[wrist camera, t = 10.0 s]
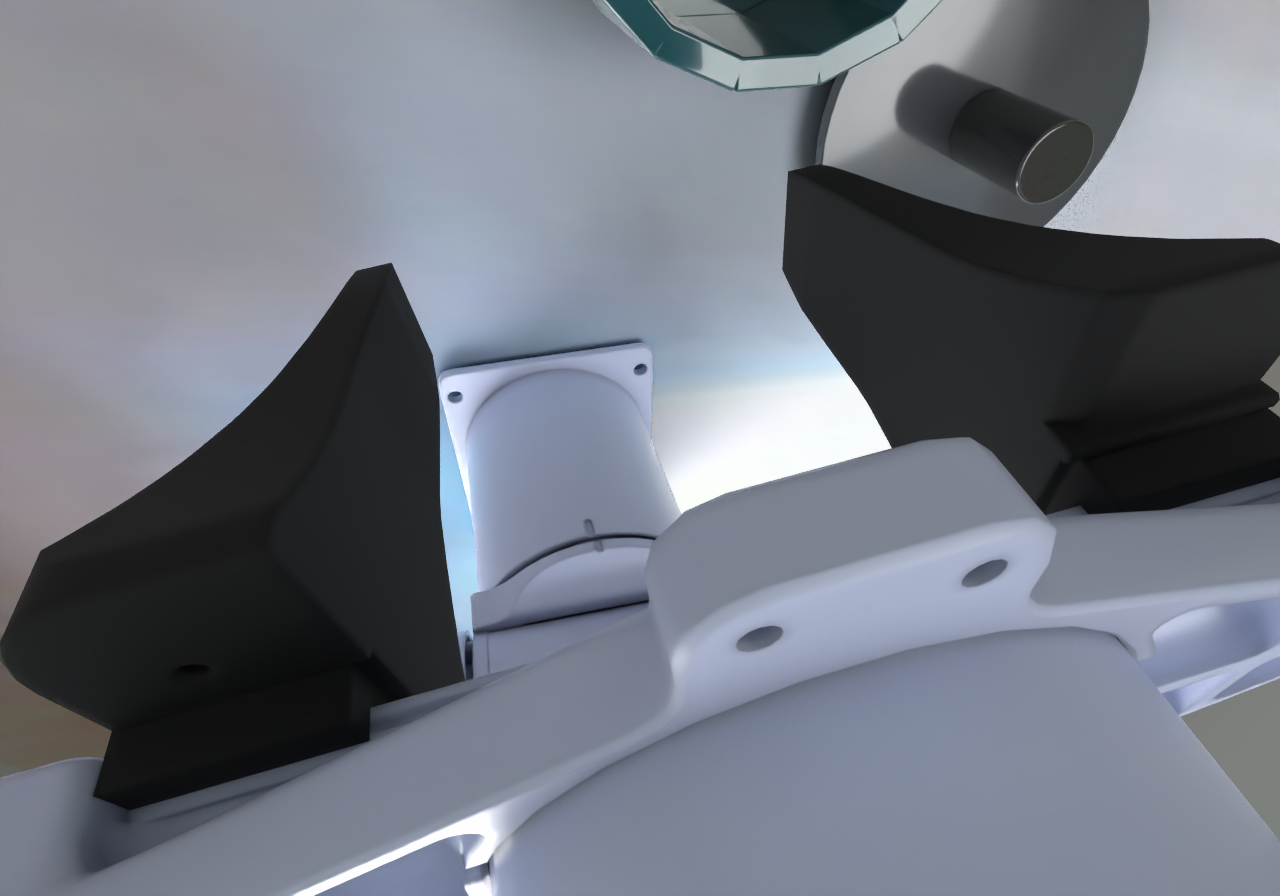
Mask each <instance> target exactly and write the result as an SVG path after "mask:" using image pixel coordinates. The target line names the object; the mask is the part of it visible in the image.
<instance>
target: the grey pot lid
mask: <svg viewBox="0 0 1280 896" xmlns="http://www.w3.org/2000/svg"><path fill="white" fill-rule="evenodd" d="M1148 30H1149V0H942V1H941V2H940V3H939V4H938V5H937V6H936V7H935V9H934V10H933V11H932V12H931V13H930V14H929V15H928V16H927V17H926V18H925V19H924V20H923V21H922V22H921V23H920V24H919V25H918V26H917V27H916V28H915V29H914V30H913V31H912V32H911V33H910V34H909V36H908V37H907V38H906V39H905V40H904V41H902V42H901V41H900V43H899V44H897V45H895V46H893V47H892V48H890V49H888V50H886V51H884V52H882V53H880V54H878V55H876V56H875V57H873V58H871V59H869V60H867V61H865V62H863V63H861V64H859V65H857V66H856V67H854V68H852V69H850V70H848V71H846V72H844V73H842V74H840V75H839V76H837V77H836V79H835V81H834V83H833V86H832V88H831V91H830V94H829V97H828V100H827V103H826V106H825V109H824V112H823V116H822V121H821V125H820V130H819V134H818V140H817V149H816V157H815V165H819V164H822V165H827V166H831V167H835V168H839V169H842V170H845V171H848V172H851V173H854V174H857V175H860V176H863V177H866V178H868V179H871V180H874V181H877V182H879V183H882V184H885V185H888V186H891V187H893V188H896V189H899V190H902V191H905V192H908V193H911V194H913V195H916V196H919V197H922V198H925V199H929V200H932V201H935V202H938V203H941V204H945V205H948V206H952V207H955V208H958V209H962V210H965V211H969V212H972V213H976V214H980V215H985V216H989V217H993V218H998V219H1003V220H1008V221H1012V222H1017V223H1022V224H1027V225H1033V226H1039V227H1044V226H1045V225H1046V224H1047V223H1048V222H1049V221H1050V220H1051V219H1052V218H1054V217H1055V216H1056V215H1057V213H1058V212H1059V211H1060V210H1061V209H1062V208H1063V207H1064V206H1065V205H1066V204H1067V203H1068V202H1069V201H1070V200H1071V199H1072V197H1073V196H1074V195H1075V194H1076V193H1077V191H1078V190H1079V189H1080V188H1081V186H1082V185H1083V184H1084V183H1085V182H1086V180H1087V179H1088V178H1089V176H1090V175H1091V173H1092V172H1093V170H1094V169H1095V168H1096V166H1097V165H1098V163H1099V162H1100V161H1101V159H1102V157H1103V156H1104V154H1105V152H1106V151H1107V149H1108V147H1109V146H1110V144H1111V142H1112V141H1113V139H1114V137H1115V135H1116V133H1117V131H1118V129H1119V127H1120V125H1121V123H1122V121H1123V119H1124V117H1125V115H1126V113H1127V111H1128V108H1129V106H1130V103H1131V101H1132V98H1133V96H1134V93H1135V90H1136V87H1137V84H1138V81H1139V77H1140V74H1141V71H1142V67H1143V62H1144V58H1145V53H1146V48H1147V41H1148Z"/></svg>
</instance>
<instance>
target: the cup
mask: <svg viewBox="0 0 1280 896" xmlns="http://www.w3.org/2000/svg"><path fill="white" fill-rule="evenodd" d="M591 1H592V2H593V3H594V4H595V5H596V6H597V7H598V9H599V10H600V11H601V12H602V13H603V14H604V15H605V16H606V17H607V18H609V19H610V20H611V21H612V22H613V23H614V24H615V25H617V26H618V27H619V28H620V29H621V30H622V31H624V32H625V33H626V34H627V35H628V36H629V37H630V38H632V39H633V40H634V41H635V42H636V43H637V44H639V45H640V46H641V47H642V48H643V49H644V50H646V51H647V52H648V53H649V54H650V55H652V56H653V57H655V58H656V59H658V60H660V61H662V62H665V63H667V64H669V65H672V66H674V67H676V68H679V69H681V70H683V71H686V72H688V73H690V74H693V75H695V76H697V77H699V78H702V79H704V80H706V81H709V82H711V83H713V84H716V85H718V86H720V87H723V88H725V89H727V90H730V91H736V92H745V91H759V90H773V89H787V88H801V87H815V86H817V85H821V84H823V83H825V82H827V81H829V80H831V79H833V78H835V77H837V76H839V75H840V74H842V73H844V72H846V71H848V70H850V69H852V68H854V67H856V66H857V65H859V64H861V63H863V62H865V61H867V60H869V59H871V58H873V57H875V56H876V55H878V54H880V53H882V52H884V51H886V50H888V49H890V48H892V47H893V46H895V45H897V44H899V43H900V41H901V42H902V41H904V40H905V39H906V38H907V37H908V36H909V34H910V33H911V32H912V31H913V30H914V29H915V28H916V27H917V26H918V25H919V24H920V23H921V22H922V21H923V20H924V19H925V18H926V17H927V16H928V15H929V14H930V13H931V12H932V11H933V10H934V9H935V7H936V6H937V5H938V4H939V3H940V2H941V1H942V0H591Z"/></svg>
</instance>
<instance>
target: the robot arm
mask: <svg viewBox="0 0 1280 896" xmlns="http://www.w3.org/2000/svg"><path fill="white" fill-rule="evenodd" d="M782 270H783V272H784V274H785V276H786V278H787V280H788V283H789V285H790V287H791V289H792V291H793V293H794V295H795V297H796V299H797V301H798V303H799V305H800V307H801V309H802V310H803V312H804V313H805V315H806V316H807V318H808V319H809V321H810V322H811V323H812V325H813V326H814V328H815V329H816V331H817V332H818V333H819V335H820V336H821V338H822V339H823V340H824V342H825V343H826V345H827V346H828V347H829V349H830V350H831V352H832V353H833V354H834V356H835V357H836V358H837V360H838V361H839V363H840V364H841V365H842V367H843V368H844V370H845V371H846V372H847V374H848V375H849V377H850V378H851V379H852V381H853V382H854V383H855V385H856V386H857V388H858V389H859V391H860V392H861V394H862V395H863V397H864V398H865V400H866V402H867V403H868V405H869V406H870V408H871V410H872V412H873V414H874V416H875V417H876V419H877V421H878V423H879V425H880V427H881V429H882V430H883V432H884V434H885V436H886V438H887V440H888V441H889V443H890V445H891V447H892V449H888V450H884V451H881V452H877V453H873V454H870V455H866V456H862V457H858V458H855V459H851V460H847V461H844V462H840V463H836V464H833V465H829V466H825V467H821V468H818V469H814V470H810V471H807V472H803V473H799V474H796V475H792V476H788V477H785V478H781V479H777V480H773V481H770V482H766V483H762V484H759V485H755V486H751V487H748V488H744V489H740V490H736V491H733V492H729V493H725V494H723V495H721V496H719V497H716V498H714V499H712V500H710V501H707V502H705V503H703V504H701V505H698V506H696V507H694V508H692V509H689V510H687V511H685V512H684V513H683V514H682V515H681V513H680V511H679V508H678V506H677V503H676V501H675V498H674V496H673V493H672V491H671V488H670V486H669V483H668V481H667V478H666V476H665V473H664V471H663V468H662V466H661V463H660V461H659V458H658V456H657V453H656V451H655V448H654V446H653V443H652V374H653V355H652V351H651V349H650V348H649V346H648V345H647V344H644V343H633V344H626V345H619V346H612V347H605V348H597V349H590V350H583V351H576V352H569V353H562V354H555V355H548V356H540V357H533V358H526V359H519V360H512V361H505V362H498V363H491V364H483V365H476V366H469V367H462V368H455V369H449V370H446V371H444V372H442V373H441V374H440V376H439V378H438V386H439V391H440V395H441V399H442V403H443V407H444V411H445V415H446V418H447V422H448V426H449V430H450V434H451V438H452V442H453V446H454V450H455V454H456V458H457V462H458V466H459V470H460V473H461V477H462V481H463V485H464V489H465V493H466V497H467V501H468V505H469V509H470V513H471V517H472V524H473V535H474V547H475V558H476V570H477V581H478V592H477V593H474V594H472V595H471V611H472V624H473V633H474V637H473V640H472V637H471V635H470V634H469V632H468V630H467V631H461V632H457V629H456V623H455V617H454V610H453V604H452V597H451V590H450V583H449V576H448V569H447V562H446V554H445V546H444V538H443V530H442V522H441V509H440V405H439V393H438V386H437V379H436V373H435V367H434V361H433V355H432V352H431V350H430V348H429V346H428V343H427V341H426V339H425V337H424V334H423V332H422V330H421V328H420V325H419V323H418V321H417V319H416V317H415V314H414V312H413V310H412V308H411V305H410V303H409V301H408V299H407V296H406V294H405V292H404V290H403V287H402V285H401V283H400V281H399V278H398V276H397V274H396V272H395V269H394V267H393V265H392V263H388V264H384V265H380V266H375V267H371V268H367V269H362V270H358V271H356V272H355V273H354V274H353V275H352V277H351V278H350V279H349V281H348V282H347V283H346V285H345V286H344V288H343V289H342V291H341V292H340V293H339V295H338V296H337V298H336V299H335V301H334V302H333V304H332V305H331V307H330V308H329V309H328V311H327V312H326V314H325V315H324V316H323V318H322V319H321V321H320V322H319V323H318V325H317V326H316V328H315V329H314V331H313V332H312V333H311V335H310V336H309V337H308V339H307V340H306V341H305V342H304V344H303V345H302V346H301V347H300V349H299V350H298V351H297V352H296V354H295V355H294V356H293V357H292V358H291V360H290V361H289V362H288V363H287V365H286V366H285V367H284V368H283V370H282V371H281V372H280V373H279V374H278V376H277V377H276V378H275V379H274V380H273V381H272V382H271V383H270V384H269V386H268V387H267V388H266V389H265V390H264V391H263V392H262V393H261V394H260V395H259V396H258V397H257V398H256V399H255V400H254V401H253V402H252V403H251V404H250V405H249V406H248V407H247V408H246V409H245V410H244V411H243V412H242V413H241V414H240V415H238V416H237V417H236V418H235V419H234V420H233V421H232V422H231V423H229V424H228V425H227V426H226V427H225V428H223V429H222V430H221V431H220V432H219V433H217V434H216V435H215V436H214V437H213V438H211V439H210V440H209V441H208V442H207V443H205V444H204V445H203V446H202V447H201V448H199V449H198V450H197V451H196V452H195V453H193V454H192V455H191V456H190V457H188V458H187V459H186V460H184V461H183V462H182V463H180V464H179V465H178V466H176V467H175V468H173V469H172V470H171V471H169V472H168V473H166V474H165V475H164V476H162V477H161V478H160V479H158V480H157V481H155V482H154V483H152V484H151V485H149V486H148V487H146V488H145V489H143V490H142V491H140V492H139V493H137V494H136V495H134V496H133V497H131V498H130V499H128V500H127V501H125V502H123V503H122V504H120V505H119V506H117V507H116V508H114V509H112V510H111V511H109V512H107V513H105V514H104V515H102V516H100V517H99V518H97V519H95V520H93V521H92V522H90V523H88V524H87V525H85V526H83V527H82V528H80V529H78V530H76V531H75V532H73V533H71V534H70V535H68V536H66V537H64V538H63V539H61V540H59V541H58V542H56V543H54V544H52V545H50V546H48V547H47V548H45V549H43V550H41V551H40V553H39V556H38V558H37V560H36V563H35V565H34V567H33V569H32V572H31V574H30V576H29V578H28V581H27V583H26V585H25V587H24V590H23V592H22V594H21V596H20V599H19V601H18V603H17V605H16V608H15V610H14V612H13V614H12V617H11V619H10V621H9V623H8V626H7V628H6V630H5V632H4V635H3V637H2V639H1V642H0V658H1V661H2V663H3V664H4V666H5V667H6V668H7V670H8V671H9V672H10V674H11V675H12V676H13V677H14V678H15V679H16V680H17V681H18V682H20V683H21V684H23V685H24V686H26V687H27V688H29V689H30V690H32V691H33V692H35V693H37V694H38V695H40V696H42V697H44V698H46V699H48V700H51V701H53V702H55V703H57V704H59V705H61V706H63V707H65V708H67V709H69V710H71V711H73V712H75V713H77V714H79V715H81V716H83V717H85V718H87V719H89V720H91V721H93V722H95V723H97V724H99V725H101V726H103V727H105V728H107V729H109V730H111V731H112V733H111V736H110V740H109V743H108V747H107V750H106V753H105V757H104V759H102V758H98V757H79V758H73V759H67V760H62V761H58V762H55V763H51V764H48V765H44V766H40V767H37V768H33V769H30V770H26V771H23V772H19V773H16V774H12V775H8V776H5V777H2V778H0V896H1280V841H1279V840H1278V839H1277V837H1276V836H1275V835H1274V834H1273V833H1272V831H1271V830H1270V829H1269V827H1268V826H1267V825H1266V824H1265V822H1264V821H1263V820H1262V819H1261V817H1260V816H1259V815H1258V814H1257V812H1256V811H1255V810H1254V809H1253V807H1252V806H1251V805H1250V804H1249V802H1248V801H1247V800H1246V799H1245V797H1244V796H1243V795H1242V794H1241V792H1240V791H1239V790H1238V789H1237V788H1236V786H1235V785H1234V784H1233V783H1232V781H1231V780H1230V779H1229V777H1228V776H1227V775H1226V774H1225V773H1224V771H1223V770H1222V769H1221V767H1219V765H1218V764H1217V762H1216V761H1215V760H1214V759H1213V757H1212V756H1211V755H1210V754H1209V753H1208V751H1207V750H1206V749H1205V747H1204V746H1203V745H1202V744H1201V743H1200V741H1199V740H1198V739H1197V737H1196V736H1195V735H1194V734H1193V732H1192V731H1191V730H1190V729H1189V727H1188V726H1187V725H1186V724H1185V723H1184V721H1183V720H1182V719H1181V716H1183V715H1186V714H1188V713H1191V712H1193V711H1196V710H1199V709H1201V708H1204V707H1206V706H1209V705H1212V704H1214V703H1217V702H1219V701H1222V700H1224V699H1227V698H1229V697H1232V696H1234V695H1237V694H1240V693H1242V692H1245V691H1247V690H1250V689H1253V688H1255V687H1258V686H1260V685H1263V684H1266V683H1269V682H1271V681H1274V680H1277V679H1279V678H1280V417H1279V416H1277V415H1276V414H1275V413H1273V412H1272V411H1271V410H1269V409H1268V408H1269V407H1273V406H1275V404H1276V403H1277V402H1278V401H1279V394H1278V392H1276V391H1275V390H1273V389H1272V388H1271V387H1269V386H1268V385H1267V384H1265V383H1264V382H1262V381H1261V380H1260V379H1261V378H1262V377H1263V376H1264V374H1265V373H1266V372H1267V371H1268V369H1269V368H1270V367H1271V366H1272V364H1273V363H1274V362H1275V361H1276V359H1277V358H1278V357H1279V355H1280V244H1279V243H1277V242H1275V241H1272V240H1269V239H1265V238H1241V239H1167V238H1147V237H1126V236H1114V235H1102V234H1091V233H1083V232H1075V231H1067V230H1059V229H1051V228H1045V227H1039V226H1033V225H1027V224H1022V223H1017V222H1012V221H1008V220H1003V219H998V218H993V217H989V216H985V215H980V214H976V213H972V212H969V211H965V210H962V209H958V208H955V207H952V206H948V205H945V204H941V203H938V202H935V201H932V200H929V199H925V198H922V197H919V196H916V195H913V194H911V193H908V192H905V191H902V190H899V189H896V188H893V187H891V186H888V185H885V184H882V183H879V182H877V181H874V180H871V179H868V178H866V177H863V176H860V175H857V174H854V173H851V172H848V171H845V170H842V169H839V168H835V167H831V166H827V165H822V164H819V165H814V166H810V167H806V168H801V169H797V170H793V171H788V183H787V200H786V217H785V234H784V251H783V268H782ZM639 364H644V366H643V367H642V368H641V369H638V370H637V369H634V368H635V367H636V366H637V365H639ZM453 391H458V392H460V393H461V394H460V395H459V396H451V395H449V393H450V392H453Z"/></svg>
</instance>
